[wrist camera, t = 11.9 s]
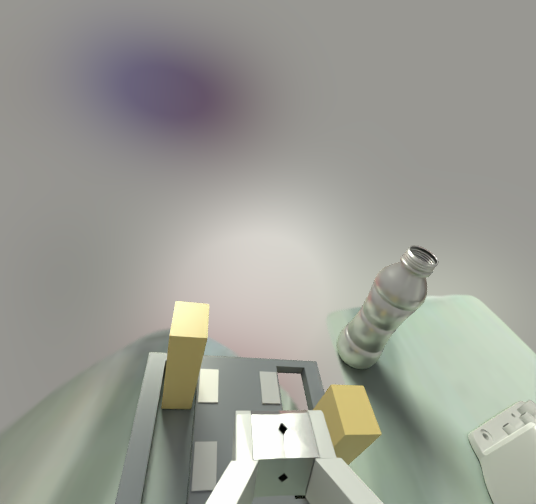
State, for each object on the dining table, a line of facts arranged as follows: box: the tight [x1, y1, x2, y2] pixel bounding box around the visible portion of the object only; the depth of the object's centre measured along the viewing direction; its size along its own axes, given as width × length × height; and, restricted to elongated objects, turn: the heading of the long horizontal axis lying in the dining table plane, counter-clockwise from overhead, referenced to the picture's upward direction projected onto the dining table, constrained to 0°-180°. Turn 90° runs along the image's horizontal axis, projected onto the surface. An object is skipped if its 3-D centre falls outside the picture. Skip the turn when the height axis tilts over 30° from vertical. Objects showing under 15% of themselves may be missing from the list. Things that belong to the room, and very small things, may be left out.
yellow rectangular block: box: [313, 385, 382, 465], centre depth 29 cm, size 4×3×13 cm
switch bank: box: [115, 352, 325, 504], centre depth 33 cm, size 16×22×2 cm
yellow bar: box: [161, 301, 209, 409], centre depth 31 cm, size 4×3×13 cm
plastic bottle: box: [337, 245, 439, 369], centre depth 41 cm, size 6×7×20 cm
